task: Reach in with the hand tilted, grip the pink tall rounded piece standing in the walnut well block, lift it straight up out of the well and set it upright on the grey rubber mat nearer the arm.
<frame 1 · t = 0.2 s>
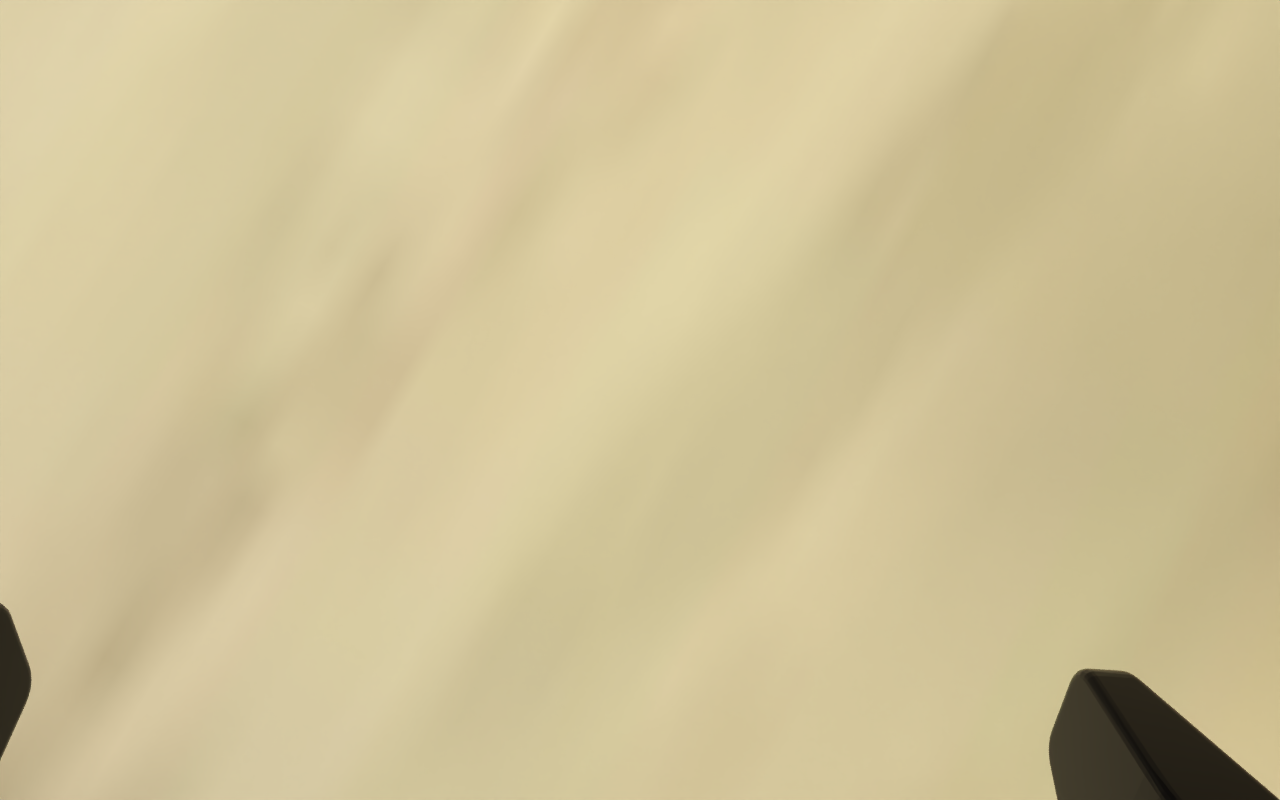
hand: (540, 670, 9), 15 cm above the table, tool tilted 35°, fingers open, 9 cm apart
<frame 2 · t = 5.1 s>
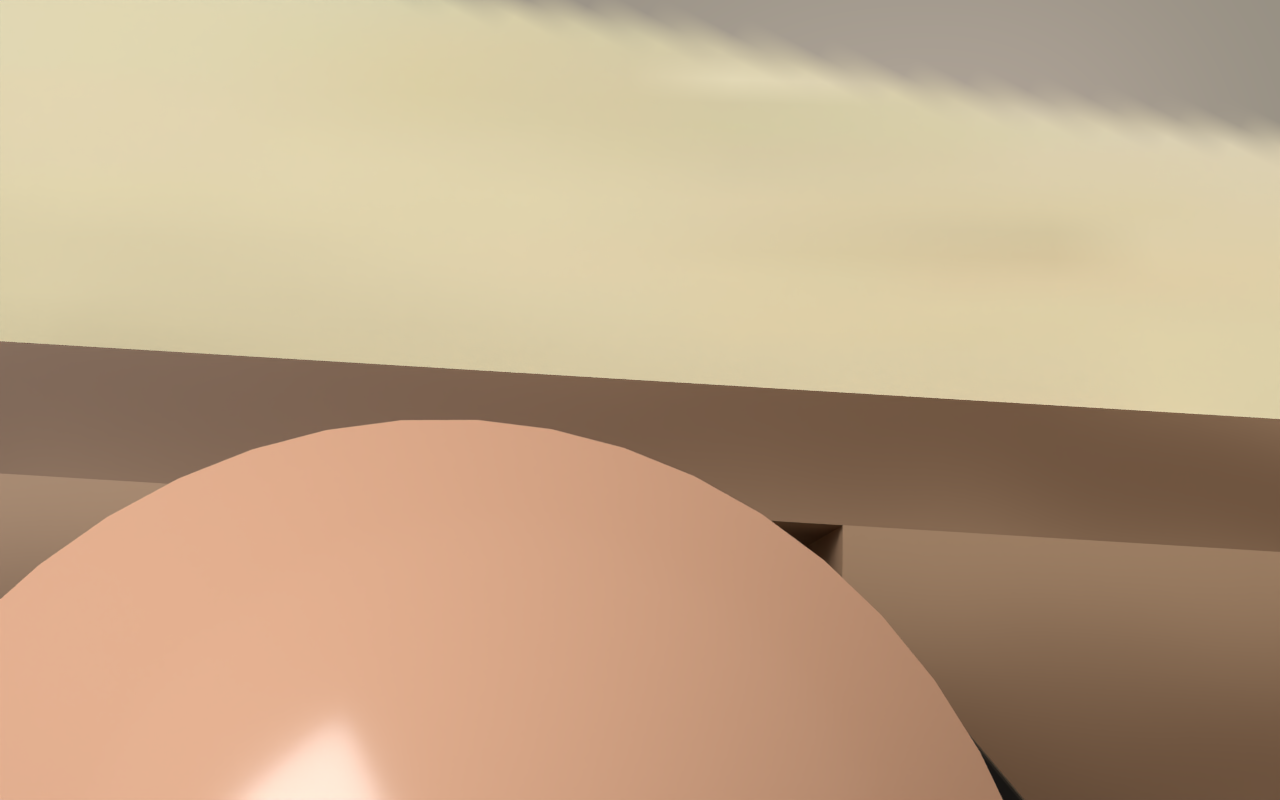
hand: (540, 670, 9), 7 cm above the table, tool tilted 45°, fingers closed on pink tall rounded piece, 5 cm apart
well block: (570, 763, 15), on the table
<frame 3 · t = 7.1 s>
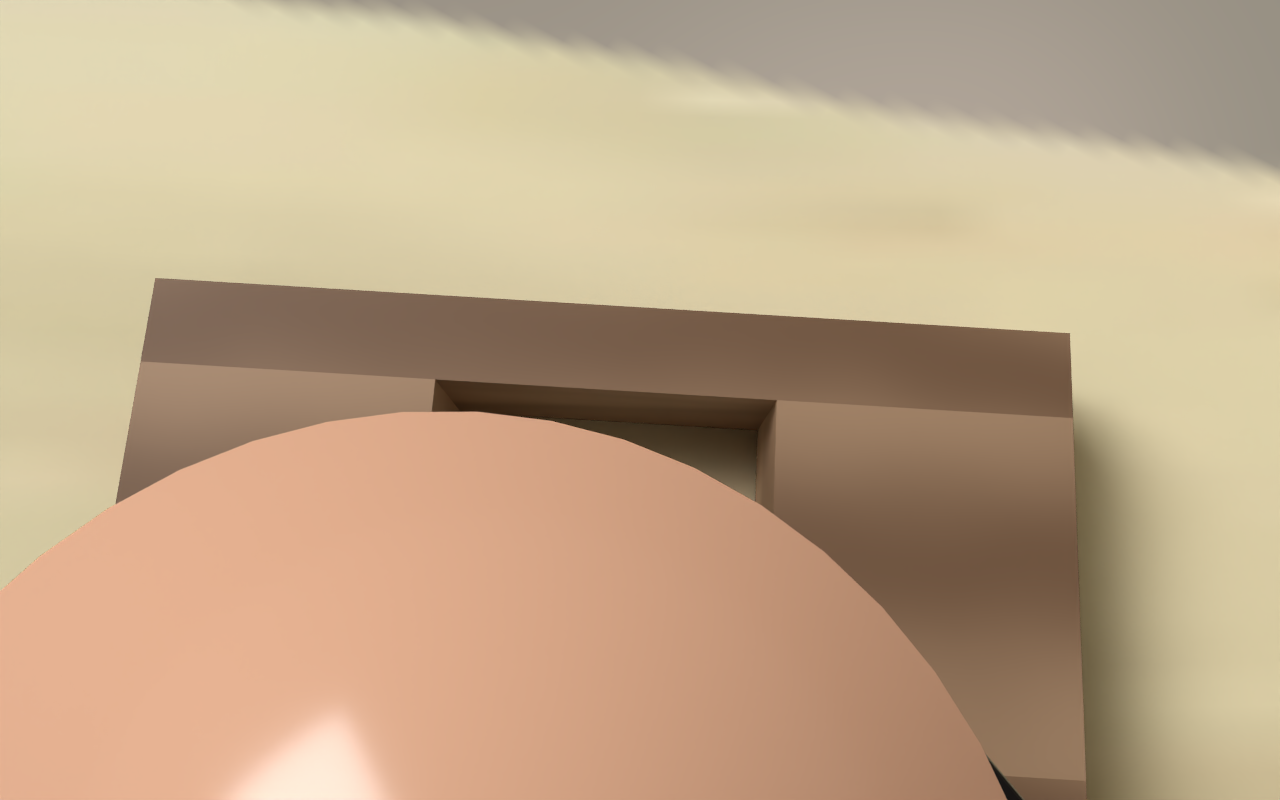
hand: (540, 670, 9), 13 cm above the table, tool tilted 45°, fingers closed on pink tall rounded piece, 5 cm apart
well block: (598, 571, 22), on the table
when the fingers open (8 cm above the table, at t = 9.3 s): pink tall rounded piece drops 1 cm, resting on mat.
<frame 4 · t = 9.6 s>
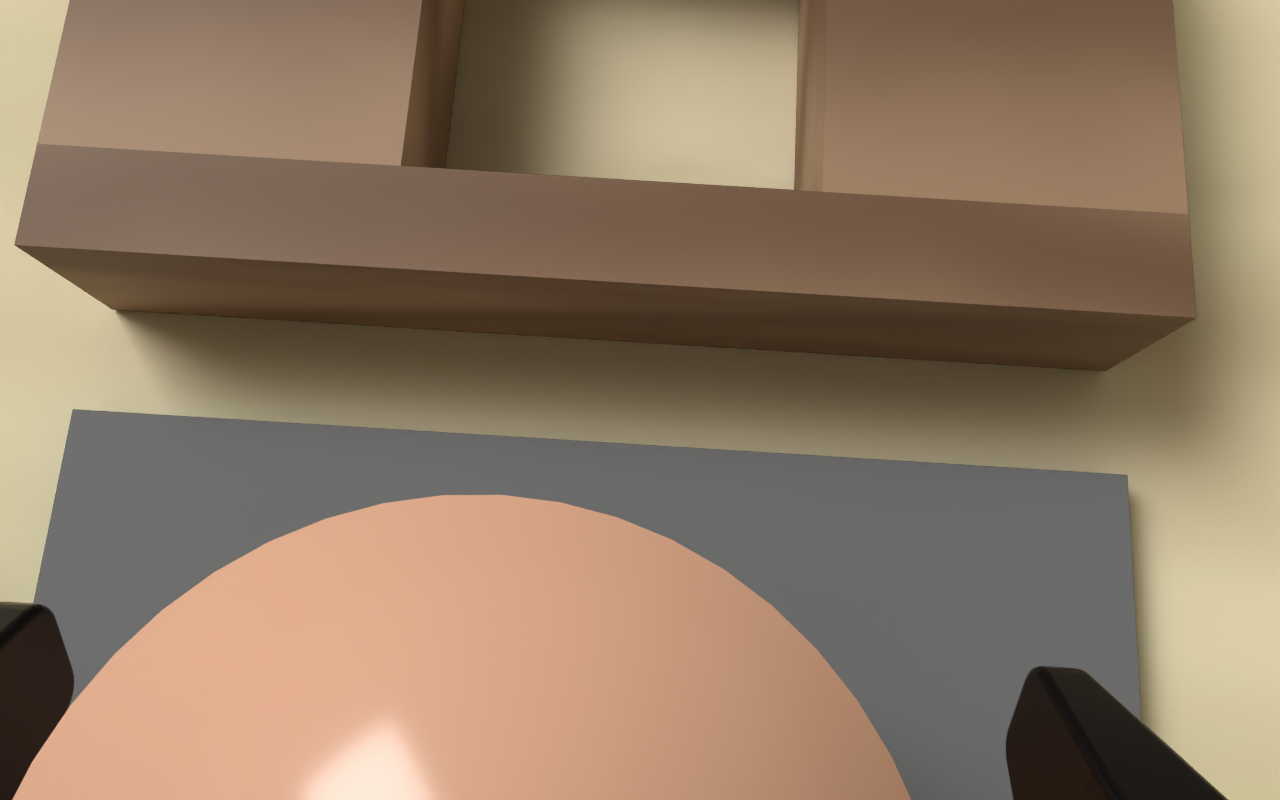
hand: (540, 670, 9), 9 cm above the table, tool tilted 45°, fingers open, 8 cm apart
well block: (625, 92, 19), on the table
mat: (578, 747, 16), on the table
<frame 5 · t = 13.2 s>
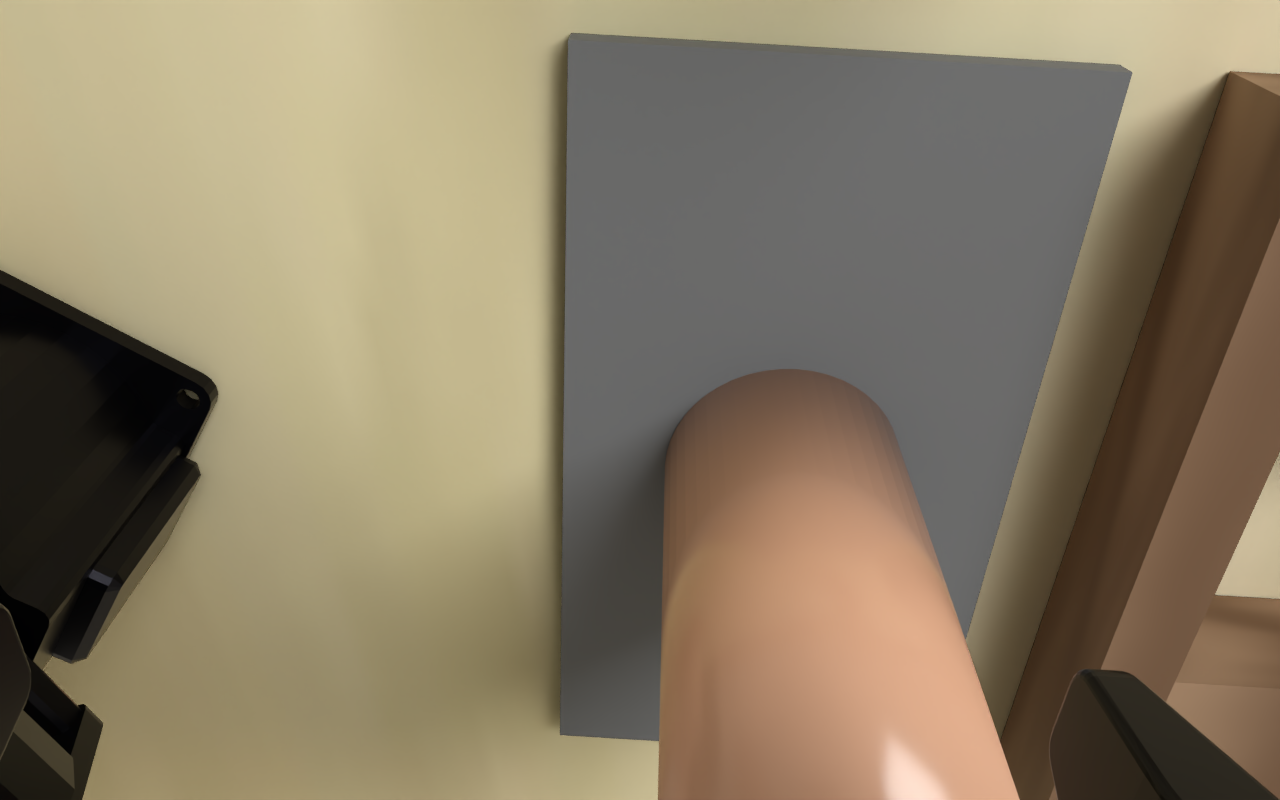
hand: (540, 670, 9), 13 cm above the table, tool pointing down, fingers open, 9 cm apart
pink tall rounded piece: (808, 650, 18), on the mat, point 6 cm above the table
mat: (784, 457, 23), on the table
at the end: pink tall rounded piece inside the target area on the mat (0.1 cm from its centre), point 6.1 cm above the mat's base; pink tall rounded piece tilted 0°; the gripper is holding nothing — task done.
